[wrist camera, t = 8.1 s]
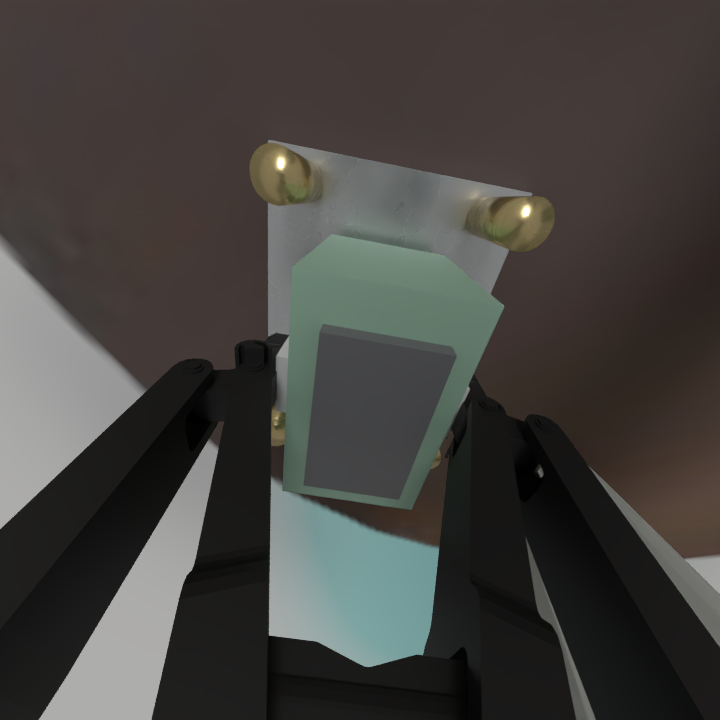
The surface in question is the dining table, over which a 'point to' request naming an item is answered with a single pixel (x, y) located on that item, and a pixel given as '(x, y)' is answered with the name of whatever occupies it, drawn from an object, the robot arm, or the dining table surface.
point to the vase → (700, 595)
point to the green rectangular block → (377, 367)
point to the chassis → (384, 219)
